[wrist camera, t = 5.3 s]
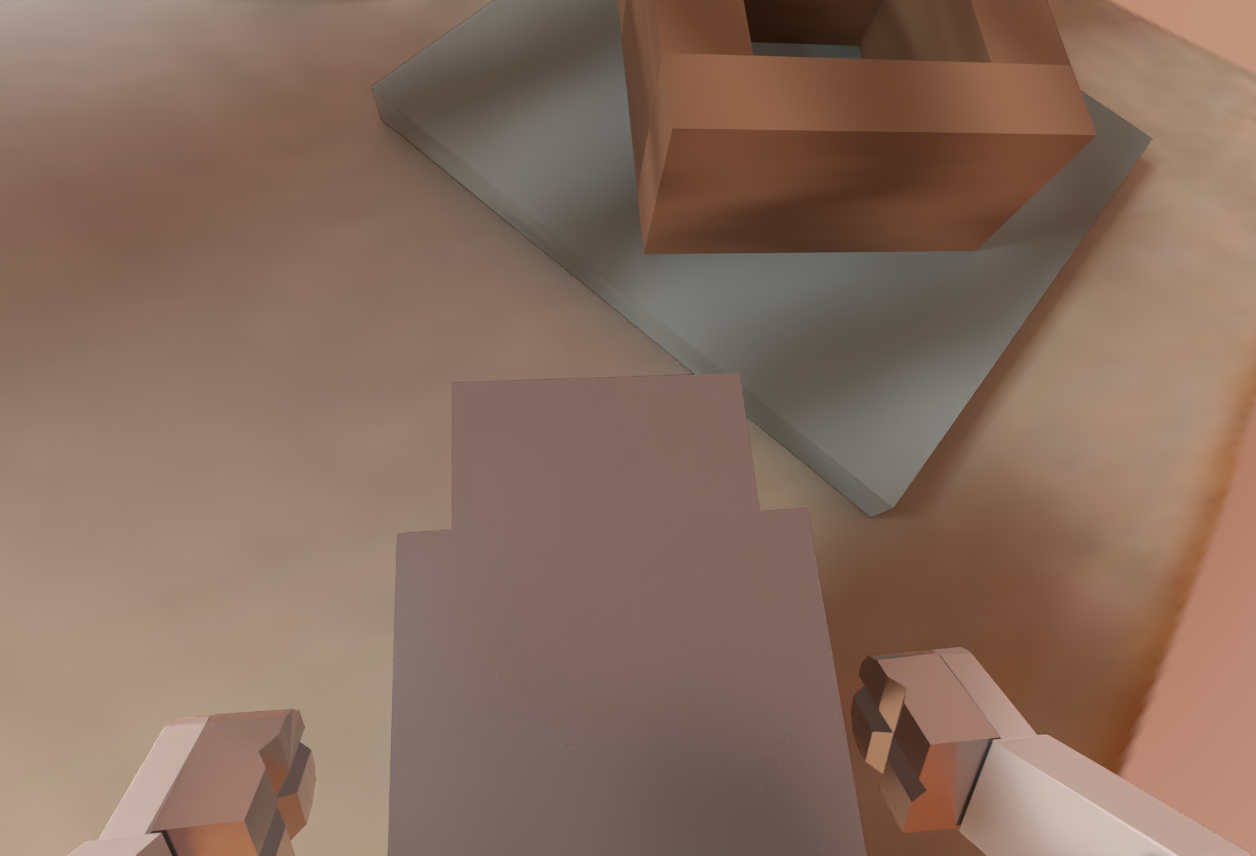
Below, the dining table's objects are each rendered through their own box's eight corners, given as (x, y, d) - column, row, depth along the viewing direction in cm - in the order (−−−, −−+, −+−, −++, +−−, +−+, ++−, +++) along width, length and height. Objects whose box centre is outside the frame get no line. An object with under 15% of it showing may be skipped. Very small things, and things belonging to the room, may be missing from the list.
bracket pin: (494, 798, 14) (380, 1071, 5) (489, 543, 16) (400, 385, 7) (675, 778, 15) (889, 988, 5) (652, 533, 17) (784, 371, 7)
